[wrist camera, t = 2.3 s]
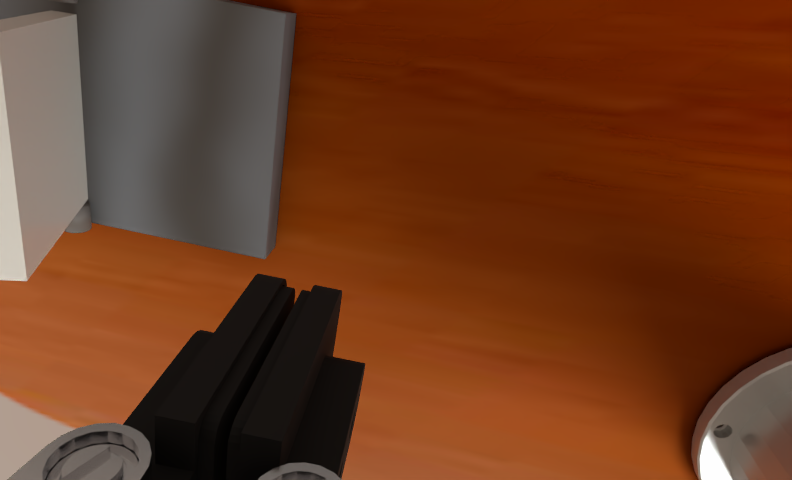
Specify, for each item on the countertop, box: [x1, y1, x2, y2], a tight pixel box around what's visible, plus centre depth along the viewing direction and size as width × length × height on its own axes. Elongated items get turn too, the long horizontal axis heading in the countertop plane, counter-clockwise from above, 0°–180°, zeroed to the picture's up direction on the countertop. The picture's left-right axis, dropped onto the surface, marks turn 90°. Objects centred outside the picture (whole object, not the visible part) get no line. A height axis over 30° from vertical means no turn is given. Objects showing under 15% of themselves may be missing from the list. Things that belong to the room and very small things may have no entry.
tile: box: [0, 10, 88, 281], centre depth 20 cm, size 8×8×1 cm
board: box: [0, 0, 296, 259], centre depth 24 cm, size 18×11×3 cm, turn 80°
